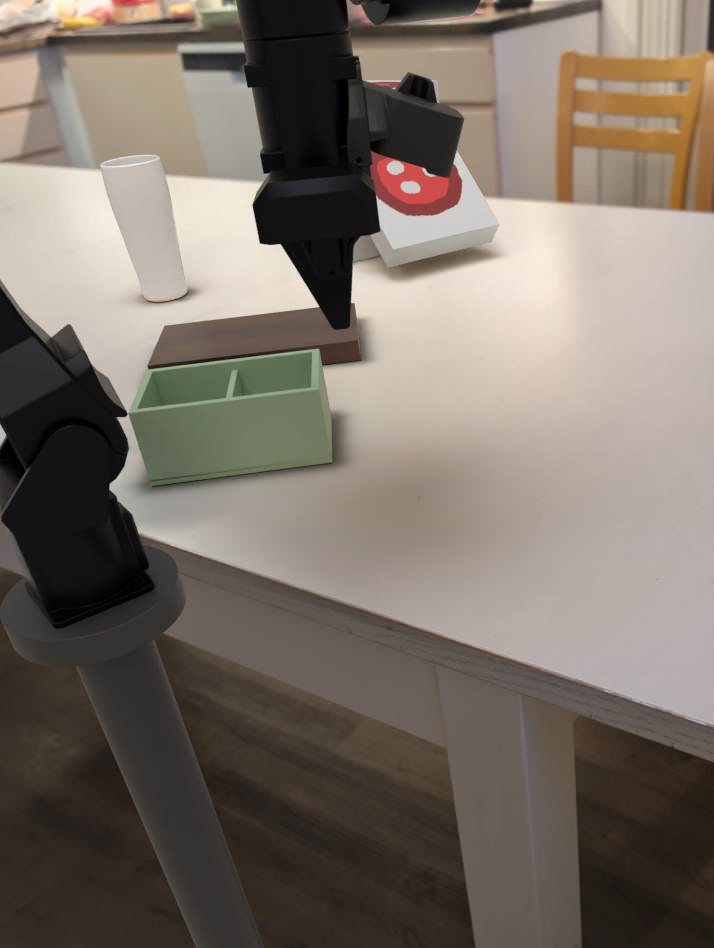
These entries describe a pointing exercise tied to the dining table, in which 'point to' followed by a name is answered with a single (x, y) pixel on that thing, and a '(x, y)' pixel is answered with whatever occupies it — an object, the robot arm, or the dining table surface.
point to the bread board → (256, 338)
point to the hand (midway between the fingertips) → (341, 327)
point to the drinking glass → (146, 223)
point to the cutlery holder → (233, 417)
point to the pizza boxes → (424, 210)
